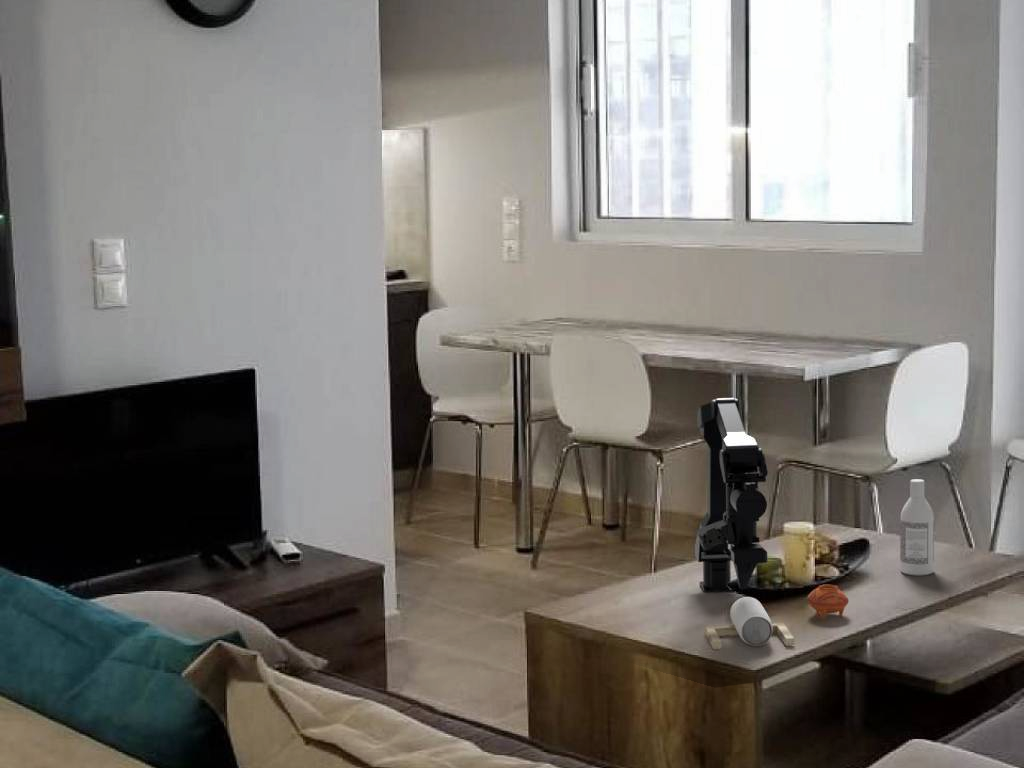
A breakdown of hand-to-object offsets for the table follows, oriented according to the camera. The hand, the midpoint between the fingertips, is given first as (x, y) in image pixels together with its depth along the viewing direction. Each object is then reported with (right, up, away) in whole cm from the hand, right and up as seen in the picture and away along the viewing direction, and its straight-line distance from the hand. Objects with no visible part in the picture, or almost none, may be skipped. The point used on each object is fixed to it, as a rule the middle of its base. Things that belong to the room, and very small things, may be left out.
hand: (742, 588), depth 311 cm
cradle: (+1, -9, -5) cm, 10 cm away
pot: (+18, -7, +9) cm, 21 cm away
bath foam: (+43, -1, +38) cm, 58 cm away
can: (+1, -5, +2) cm, 5 cm away
